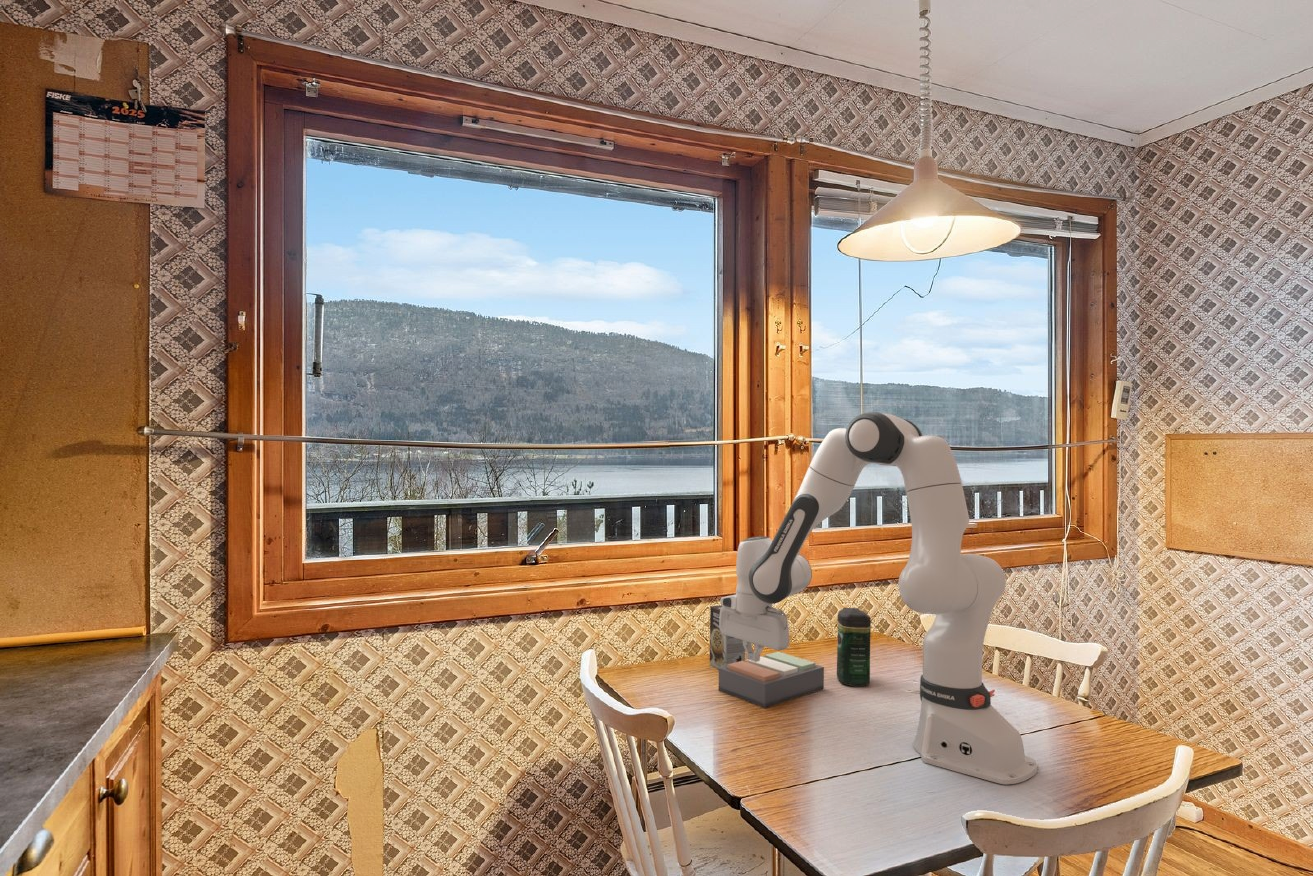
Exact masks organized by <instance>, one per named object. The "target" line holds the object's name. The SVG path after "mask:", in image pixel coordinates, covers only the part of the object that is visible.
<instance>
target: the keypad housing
mask: <svg viewBox="0 0 1313 876" xmlns="http://www.w3.org/2000/svg"><path fill="white" fill-rule="evenodd" d="M763 657H765V655H764V656H763ZM745 662H747V660H745ZM824 683H825V667H824V666H822V665H818V664H815V668H811V669H808V670H804V671H800V670H798V672H797V673H794V674H791V675H787V676H781V675H779V678H777V679H773V680H770V681H766V682H763V681H760V680H757V679H755V678H752V677H749V676H746V675H743V674H740V673H737V672H734V671H731V670H728V669H727V666H726V667H722V668H719V669H718V692H721V693H724V694H727V695H730V696H732V697H734V698H737V699H740V700H742V701H744V702H748V703H750V704H752V705H755V706H757V707H761V708H763V709H767V708H771V707H773V706H776V705H779V704H782V703H785V702H789V701H792V700H795V699H799V698H801V697H804V696H807V695H809V694H813V693H816V692H819V691H821V690H824V689H825V688H824V687H825V686H824Z"/></svg>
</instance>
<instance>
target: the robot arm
mask: <svg viewBox="0 0 1313 876" xmlns="http://www.w3.org/2000/svg"><path fill="white" fill-rule="evenodd" d="M871 463H872V464H876V465H880V466H888V467H890V466H892V467H897V468H898V469H899V471H900V473H901V475H902V478H903V483H904V484H903V485H904V489H905V490H904V491H905V494H906V500H907V505H908V511H909V517H910V522H911V523H910V524H911V544H910V552H909V556H908V560H907V562H906V565H905V567H903V569H902V570H901V572H900V575H899V577H898V585H897V587H898V592H899V595H900V598H901V600H902V601H903V603H904V604H905V605H906V607H908V609H910V610H912V611H914V612H915V613H920V614H928V615H933V616H935V618H934V621H933V623H932V624H931V626H930V628H928V630H927V631H926V633H925V635H924V636H923V640H922V674H921V675H920V680H919V681H920V684H919V698H920V701H921V703H920V713H919V720H918V725H917V726H918V727H917V730H916V733H915V738H914V740H913V743H912V745H913V748H914V750H915V751H916V752H917V753H919V755H920V757H921V758H920V759H921V760H922V762H924V763H926V764H930V765H933V766H936V767H940V768H944V769H948V770H951V771H953V772H956V773H957V772H958V773H960V774H965V775H968V776H970V777H971V776H972V777H975V778H979V779H983V780H984V781H989V782H992V783H996V784H1000V785H1015V784H1019V783H1023V782H1026V781H1028V780H1029V779H1030V778H1033V777H1034V776H1035V775H1036V774H1037V773H1038V769H1039V768H1038V762H1037V760H1036V759H1034V758H1031V757H1029V756H1027V755H1025V748H1024V742H1023V741H1024V740H1023V738H1022V735H1021V733H1020V732H1019V730H1017V728H1015V727H1014V726H1013V725H1012V724H1011V723H1010V722H1009V721H1008V720H1007V719H1006V718H1005V717H1004V716H1003V715H1002V713H1000V712H999V711H998V710H997V709H996V707H994V706H993V705H992V701H991V699H992V697H994V696H996V695H995V694H994V693H995V692H996V691H995V689H992V690H990V691H989V690H988V689H987V688H986V686H985V684H984V683H983V682H984V681H983V652H984V643H985V637H986V634H987V633H986V632H987V630H988V626H989V622H990V619H991V616H992V613H993V610H994V608H995V605H996V603H997V602H998V601H999V599H1000V598H1001V597H1002V595H1003V594H1004V592H1005V589H1006V584H1007V583H1006V582H1007V580H1006V575H1005V571H1004V570H1003V568H1002V567H1001V565H1000V564H999V563H998V562H997V561H996V560H995V559H993V558H990V557H988V556H984V555H981V554H976V553H962V541H963V540H962V539H963V536H964V533H965V531H966V530H967V528H968V526H969V523H970V515H969V511H968V506H967V502H966V495H965V491H964V488H963V483H962V478H961V475H960V471H959V467H958V464H957V462H956V459H955V455H954V453H953V451H952V449H951V447H950V445H949V443H948V441H947V440H946V439H944V438H942V437H940V436H937V435H931V434H927V435H923V433H922V431H921V430H920V428H918V426H917V425H916V424H914V423H913V421H910V420H908V419H906V418H905V419H904V418H901V417H898V416H897V415H894V414H890V413H882V412H878V411H868V412H863V413H861V414H858V415H857V416H854V418H853V419H851V420H850V422H849V423H848V425H847V427H840V428H839V427H838V428H834V429H831V430H830V431H829V432H828V433H827V435H825V437H824V439H823V440H822V442H821V443H820V444H819V446H818V448H817V449H816V451H815V453H814V455H813V456H812V459H811V460H810V463H809V465H808V468H807V470H806V472H805V475H804V477H803V480H802V482H801V485H799V486H800V487H799V488H798V491H797V493H796V495H795V497H794V498H793V500H792V503H791V505H790V507H789V509H788V510H787V511H786V515H784V517H783V519H782V522H781V524H780V525H779V528H778V529H777V531H776V533H775V535H774V537H773V539H772V538H771V537H769V536H754V537H748V538H744V539H743V540H741V541H740V542H739V544H738V547H737V554H736V564H735V574H736V578H737V584H736V587H735V593H734V594H732V595H727V596H723V597H721V598H720V601H719V602H720V606H723V607H722V608H721V610H720V617H719V628H720V631H721V633H722V634H724V635H728V636H731V637H734V638H738V639H741V640H743V646H744V649H745V659H746V660H747V659H748V660H751V661H754V662H758V661H759V660H760V656H761V653H762V651H764V648H769V649H772V650H775V651H777V652H780V651H782V650H783V651H784V650H786V649H788V648H789V647H790V631H789V630H790V629H789V622H788V620H789V619H788V616H787V614H786V613H785V612H784V611H783V610H782V609H779V608H775V607H773V605H774V604H779V603H780V602H782V601H784V600H785V599H787V598H789V597H791V596H793V595H795V594H798V593H799V592H802V591H804V590H805V589H806V588H807V587H808V586H809V585H810V583H811V581H812V578H813V577H812V576H813V573H812V568H811V564H810V562H809V561H808V560H807V558H805V557H804V556H803V555H801V554H800V552H801V549H802V548H803V546H804V543H805V542H806V540H807V538H808V537H809V535H810V533H811V532H812V531H813V530H814V529H815V528H816V527H817V526H818V525H819V524H821V523H822V522H823V521H824V520H826V519H827V518H829V517H831V516H832V515H834V514H836V513H837V512H839V511H840V510H841V509H842V507H843V506H844V505H845V504H846V502H847V501H848V499H849V498H850V496H851V494H852V492H853V490H854V488H855V486H856V483H857V481H858V479H859V477H860V474H861V473H862V470H863V469H864V468H865V467H866V466H868V465H869V464H871ZM752 645H753V647H752ZM753 648H755V649H754V650H753Z"/></svg>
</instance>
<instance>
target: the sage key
mask: <svg viewBox="0 0 1313 876" xmlns="http://www.w3.org/2000/svg"><path fill="white" fill-rule="evenodd" d="M764 656H765V658H768V659H771V660H775V661H778V662H781V663H784V664H788V665H791V666H794V667H797V668H798V670H800V671H804V670H808V669H811V668H815V665H816V662H814V661H811V660H809V659H804V658H800V657H797V656H794V655H791V654H787V653H784V652H780V651H775V652H772V653H767V654H764Z"/></svg>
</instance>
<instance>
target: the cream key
mask: <svg viewBox="0 0 1313 876" xmlns="http://www.w3.org/2000/svg"><path fill="white" fill-rule="evenodd" d="M746 661H747V663H750V664H753V665H757V666H760V667H763V668H766V669H769V670H772V671H775V672H778V673H779V675H781V676H787V675H791V674H794V673H797V672H798V668H797V667H794V666H791V665H788V664H784V663H781V662H778V661H775V660H771V659H768V658H765V657H764V656H762V655H760V660H759V661H758V662H754V661H751V660H748V659H746Z"/></svg>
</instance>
